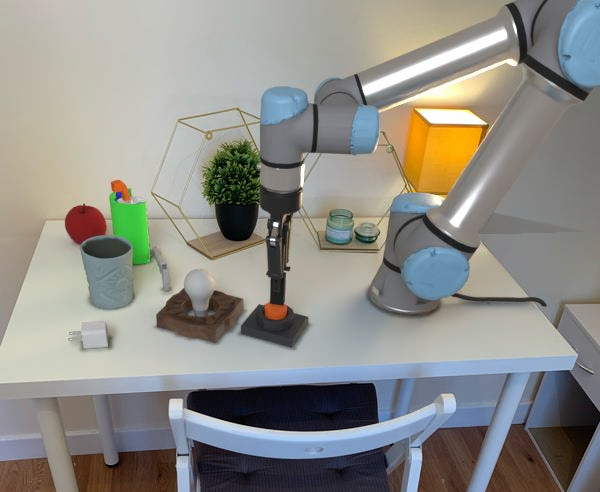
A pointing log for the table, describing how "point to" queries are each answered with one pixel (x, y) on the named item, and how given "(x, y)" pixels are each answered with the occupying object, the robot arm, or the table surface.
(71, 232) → the apple
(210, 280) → the lightbulb
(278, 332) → the black button base
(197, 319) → the bulb stand
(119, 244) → the grey embossed cup
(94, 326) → the usb wall charger
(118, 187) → the green-shelled ribbed roller
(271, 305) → the test button
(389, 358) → the table surface
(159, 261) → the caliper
